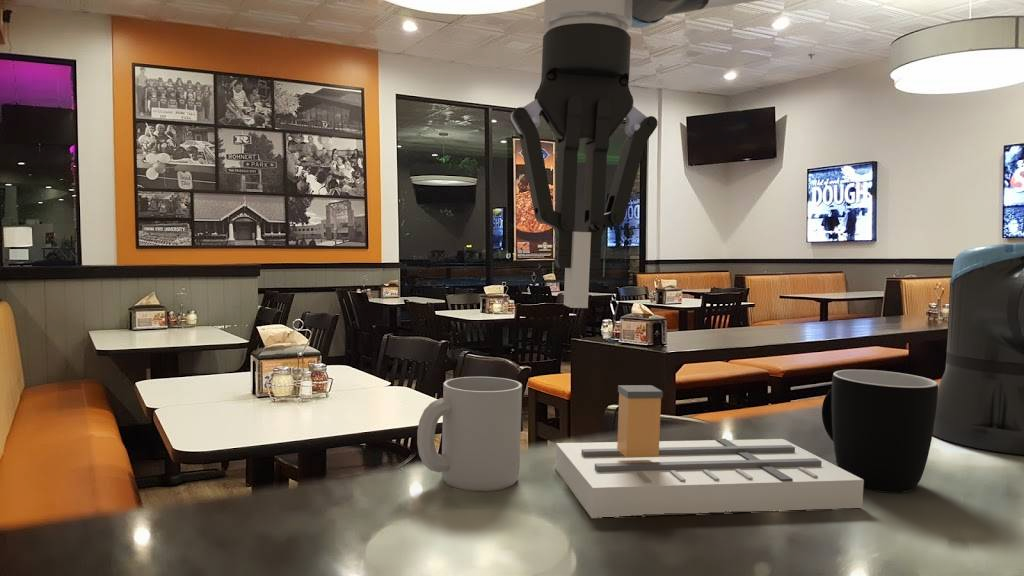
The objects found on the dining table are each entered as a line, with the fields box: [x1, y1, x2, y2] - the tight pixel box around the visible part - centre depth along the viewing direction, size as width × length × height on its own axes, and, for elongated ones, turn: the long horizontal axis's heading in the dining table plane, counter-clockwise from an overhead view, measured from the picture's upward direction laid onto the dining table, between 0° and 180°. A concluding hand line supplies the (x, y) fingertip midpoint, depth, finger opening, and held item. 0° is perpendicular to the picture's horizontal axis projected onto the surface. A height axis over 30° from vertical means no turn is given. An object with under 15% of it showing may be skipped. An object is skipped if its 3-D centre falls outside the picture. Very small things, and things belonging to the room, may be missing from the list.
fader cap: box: [616, 384, 664, 458], centre depth 66 cm, size 3×3×6 cm
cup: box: [416, 376, 523, 492], centre depth 67 cm, size 7×10×9 cm
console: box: [554, 438, 864, 519], centre depth 67 cm, size 24×13×3 cm, turn 100°
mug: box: [821, 369, 939, 494], centre depth 71 cm, size 12×9×10 cm
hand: (575, 306), depth 64 cm, fingers closed
